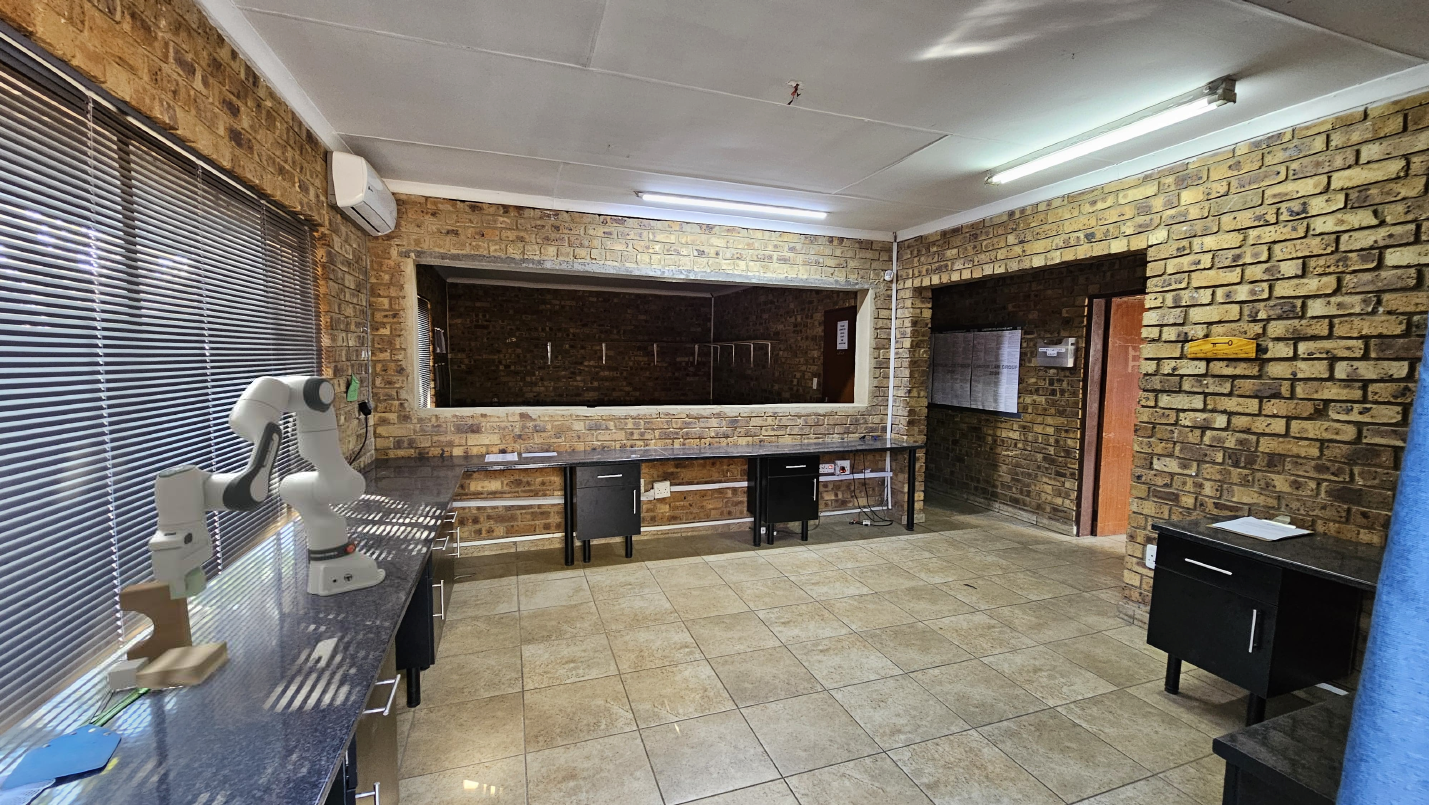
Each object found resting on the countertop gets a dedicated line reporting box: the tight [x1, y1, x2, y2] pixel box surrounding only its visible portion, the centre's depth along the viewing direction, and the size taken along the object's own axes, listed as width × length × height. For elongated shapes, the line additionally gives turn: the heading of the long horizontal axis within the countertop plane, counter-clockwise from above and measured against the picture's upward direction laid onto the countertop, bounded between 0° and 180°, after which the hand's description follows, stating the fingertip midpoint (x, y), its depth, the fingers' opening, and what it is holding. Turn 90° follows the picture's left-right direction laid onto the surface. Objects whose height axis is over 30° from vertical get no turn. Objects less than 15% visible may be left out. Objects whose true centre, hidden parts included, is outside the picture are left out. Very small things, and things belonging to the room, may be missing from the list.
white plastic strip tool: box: [309, 637, 339, 669], centre depth 147 cm, size 5×15×1 cm, turn 22°
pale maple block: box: [135, 640, 229, 691], centre depth 139 cm, size 12×12×5 cm
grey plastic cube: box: [107, 657, 149, 692], centre depth 135 cm, size 5×5×5 cm
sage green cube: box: [169, 569, 207, 599], centre depth 141 cm, size 5×5×5 cm
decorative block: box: [118, 580, 193, 664], centre depth 146 cm, size 11×6×20 cm, turn 115°
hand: (188, 587), depth 141 cm, fingers closed on sage green cube, 5 cm apart
